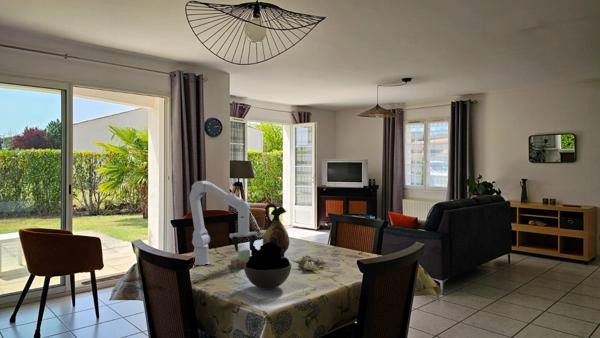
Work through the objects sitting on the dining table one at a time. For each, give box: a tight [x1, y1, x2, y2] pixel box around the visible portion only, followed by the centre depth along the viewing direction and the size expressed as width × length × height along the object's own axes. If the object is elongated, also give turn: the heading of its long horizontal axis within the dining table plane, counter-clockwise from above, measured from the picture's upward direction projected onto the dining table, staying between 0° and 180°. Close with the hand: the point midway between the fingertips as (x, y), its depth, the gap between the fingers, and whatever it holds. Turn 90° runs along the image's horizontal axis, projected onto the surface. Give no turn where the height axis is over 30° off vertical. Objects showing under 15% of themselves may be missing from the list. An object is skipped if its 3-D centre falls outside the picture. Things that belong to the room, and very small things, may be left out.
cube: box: [237, 248, 251, 261], centre depth 210 cm, size 5×5×5 cm
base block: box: [230, 257, 249, 270], centre depth 210 cm, size 11×11×3 cm
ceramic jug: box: [262, 203, 290, 258], centre depth 233 cm, size 17×15×30 cm
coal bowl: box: [243, 242, 292, 290], centre depth 171 cm, size 20×20×19 cm
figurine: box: [291, 254, 331, 272], centre depth 202 cm, size 20×6×17 cm
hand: (243, 250), depth 210 cm, fingers open, 7 cm apart
